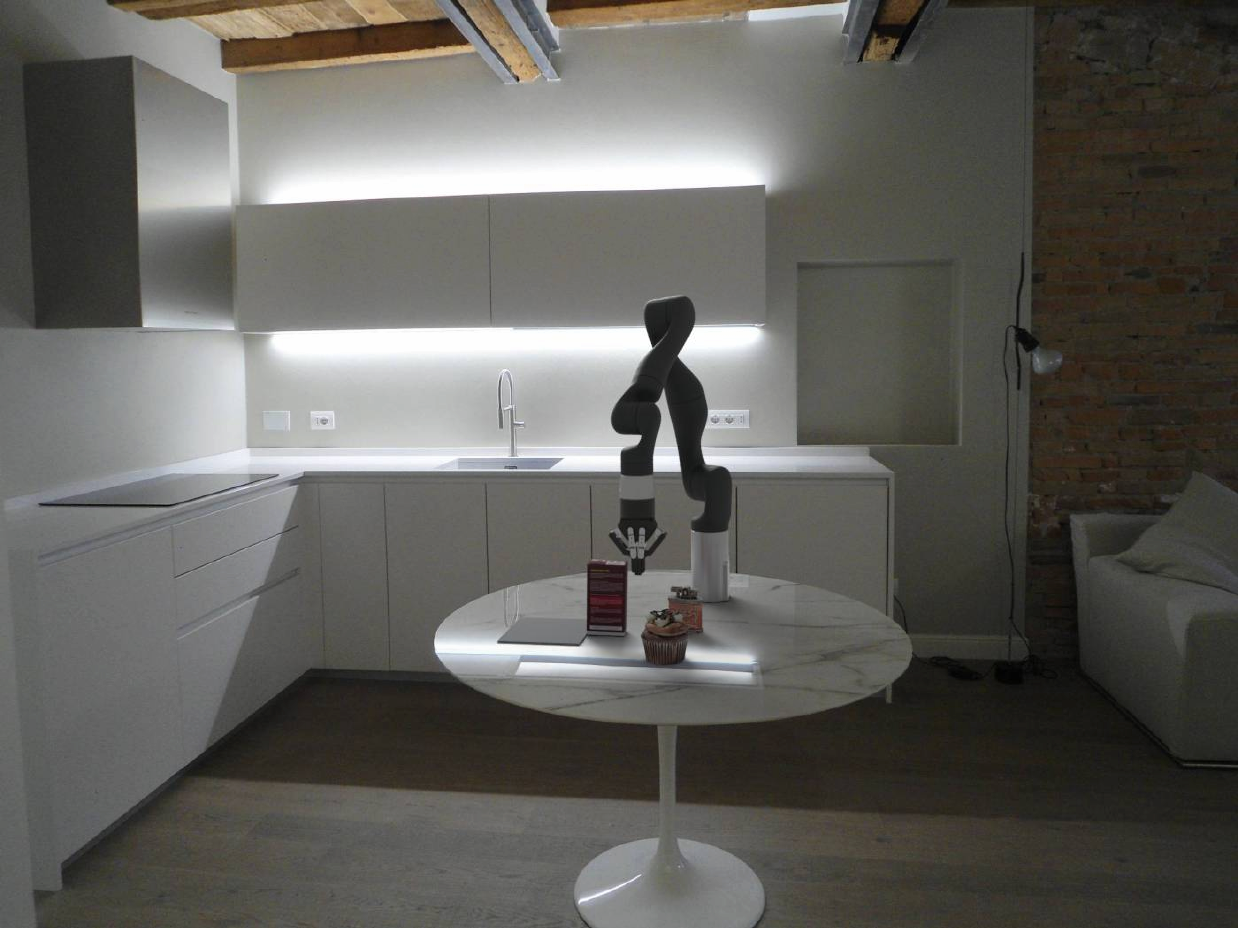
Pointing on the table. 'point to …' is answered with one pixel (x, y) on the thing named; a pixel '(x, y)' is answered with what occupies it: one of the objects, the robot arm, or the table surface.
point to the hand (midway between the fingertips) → (638, 574)
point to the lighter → (687, 607)
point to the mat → (546, 631)
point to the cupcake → (665, 638)
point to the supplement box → (607, 597)
